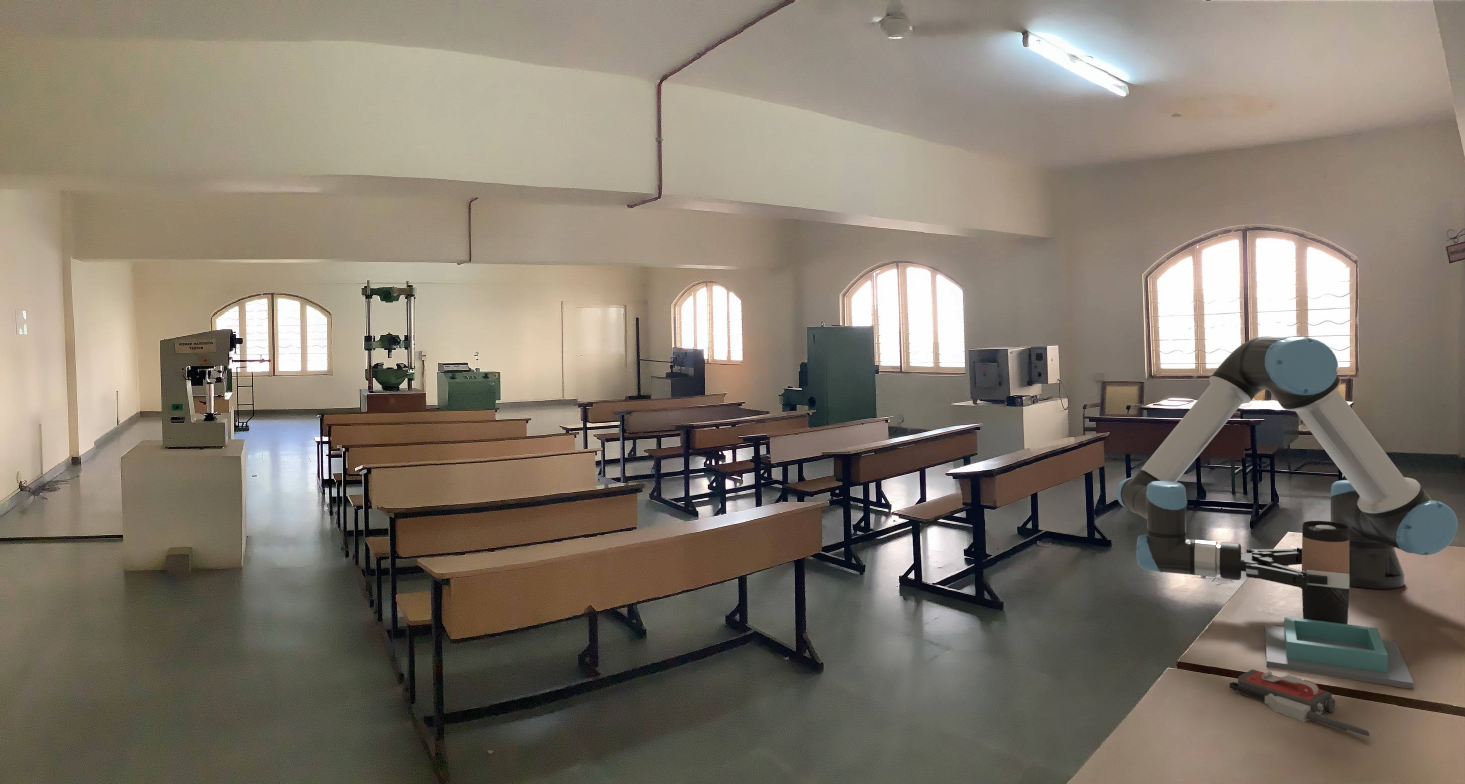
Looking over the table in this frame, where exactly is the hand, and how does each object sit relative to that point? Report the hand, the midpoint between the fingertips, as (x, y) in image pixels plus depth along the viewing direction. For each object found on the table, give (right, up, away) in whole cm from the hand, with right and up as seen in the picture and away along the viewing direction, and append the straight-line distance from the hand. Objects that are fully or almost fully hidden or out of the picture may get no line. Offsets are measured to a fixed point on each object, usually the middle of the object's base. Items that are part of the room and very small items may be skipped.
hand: (1346, 571), depth 159 cm
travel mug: (-2, -11, +3) cm, 12 cm away
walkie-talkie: (-30, -15, -31) cm, 46 cm away
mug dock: (-12, -12, -13) cm, 21 cm away
